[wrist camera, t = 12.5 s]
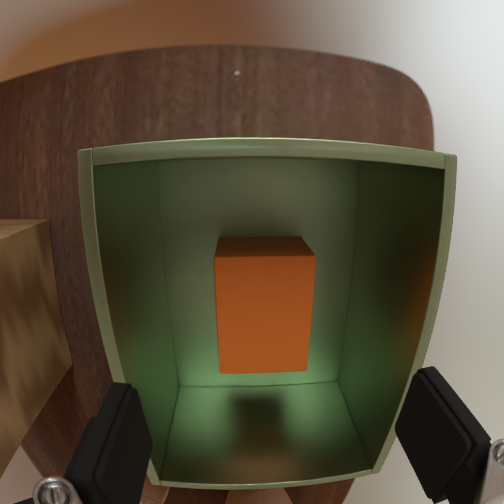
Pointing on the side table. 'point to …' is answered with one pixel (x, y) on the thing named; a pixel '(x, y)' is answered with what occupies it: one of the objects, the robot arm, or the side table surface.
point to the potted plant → (258, 496)
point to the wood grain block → (27, 329)
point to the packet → (263, 303)
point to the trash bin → (324, 302)
